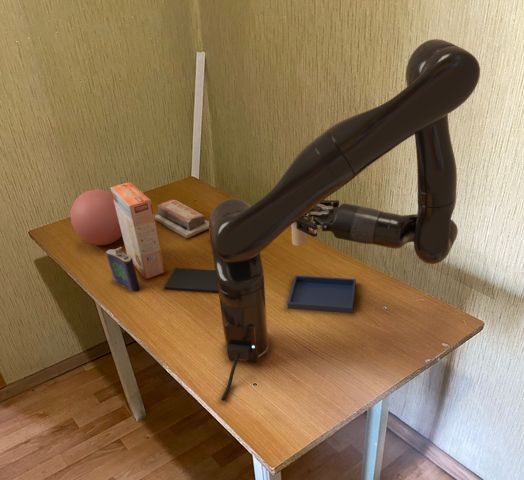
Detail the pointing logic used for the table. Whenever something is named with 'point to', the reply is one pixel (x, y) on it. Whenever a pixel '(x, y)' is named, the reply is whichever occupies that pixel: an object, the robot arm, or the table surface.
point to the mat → (193, 280)
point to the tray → (322, 294)
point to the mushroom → (298, 235)
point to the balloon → (96, 217)
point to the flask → (122, 269)
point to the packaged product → (181, 218)
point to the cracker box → (138, 229)
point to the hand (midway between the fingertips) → (287, 210)
